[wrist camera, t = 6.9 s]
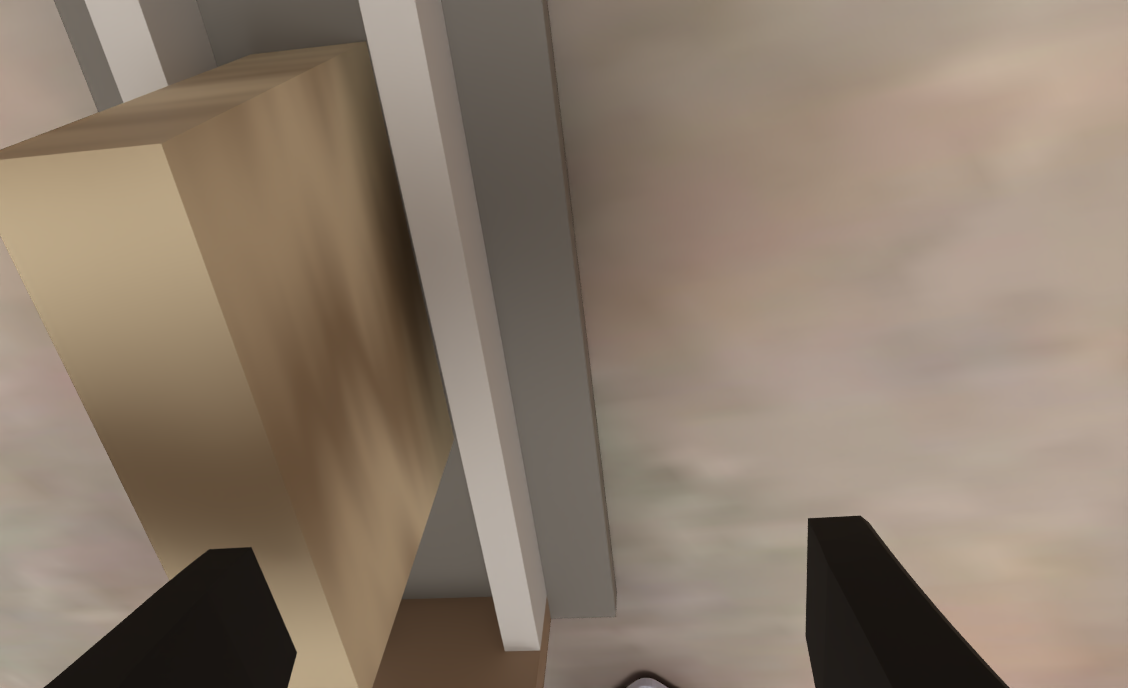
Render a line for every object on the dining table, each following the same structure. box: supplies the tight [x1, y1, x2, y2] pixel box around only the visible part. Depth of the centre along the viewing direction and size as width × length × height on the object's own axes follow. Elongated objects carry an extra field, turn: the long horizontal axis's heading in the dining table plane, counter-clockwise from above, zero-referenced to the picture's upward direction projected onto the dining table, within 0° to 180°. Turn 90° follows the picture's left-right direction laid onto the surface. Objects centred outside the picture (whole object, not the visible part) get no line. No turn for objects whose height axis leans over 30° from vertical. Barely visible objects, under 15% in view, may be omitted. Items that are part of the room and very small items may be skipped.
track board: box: [54, 0, 617, 688], centre depth 17 cm, size 24×10×5 cm, turn 7°
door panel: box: [0, 41, 454, 688], centre depth 15 cm, size 10×2×8 cm, turn 7°
